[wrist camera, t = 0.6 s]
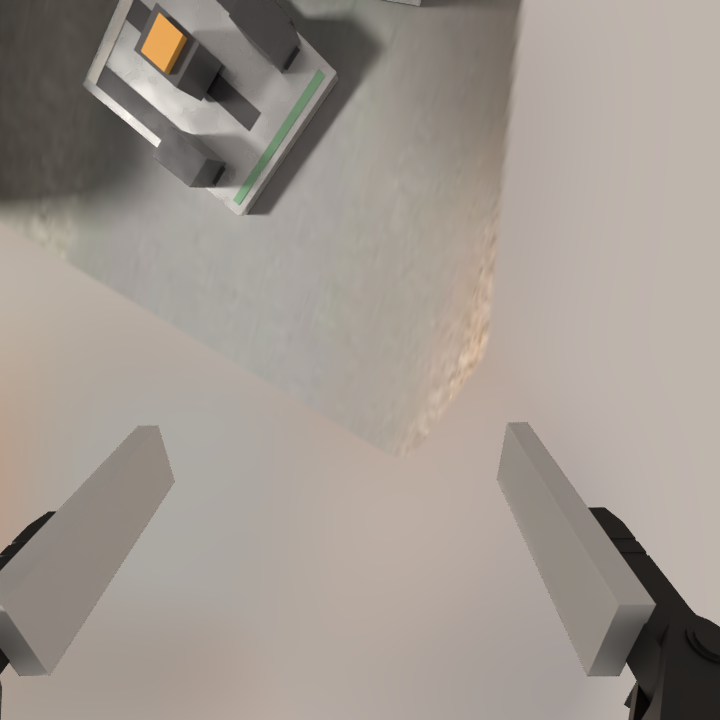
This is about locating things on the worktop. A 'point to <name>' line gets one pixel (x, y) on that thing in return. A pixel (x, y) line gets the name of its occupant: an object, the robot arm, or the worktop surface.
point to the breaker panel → (216, 93)
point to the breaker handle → (177, 54)
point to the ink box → (408, 1)
